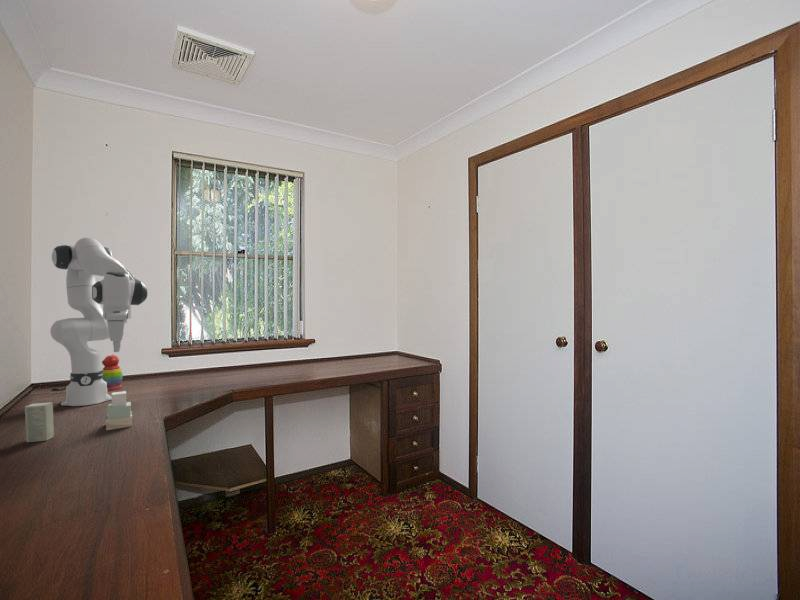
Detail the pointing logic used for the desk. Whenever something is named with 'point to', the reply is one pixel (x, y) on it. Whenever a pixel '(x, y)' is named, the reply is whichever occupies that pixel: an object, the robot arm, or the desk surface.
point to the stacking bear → (112, 373)
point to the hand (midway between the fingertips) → (117, 350)
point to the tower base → (118, 422)
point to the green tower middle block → (119, 411)
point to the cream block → (118, 399)
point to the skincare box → (39, 422)
